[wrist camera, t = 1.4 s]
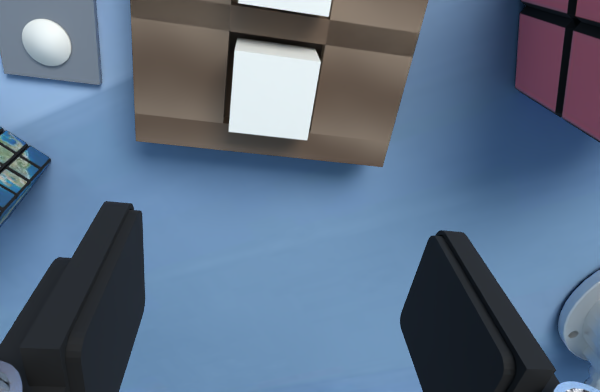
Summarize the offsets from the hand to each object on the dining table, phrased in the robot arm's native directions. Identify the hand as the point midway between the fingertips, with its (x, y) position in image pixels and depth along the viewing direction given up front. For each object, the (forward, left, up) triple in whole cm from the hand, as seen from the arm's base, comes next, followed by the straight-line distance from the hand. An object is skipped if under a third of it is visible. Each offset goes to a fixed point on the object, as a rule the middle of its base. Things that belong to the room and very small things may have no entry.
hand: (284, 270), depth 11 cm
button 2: (0, 0, -15) cm, 15 cm away
